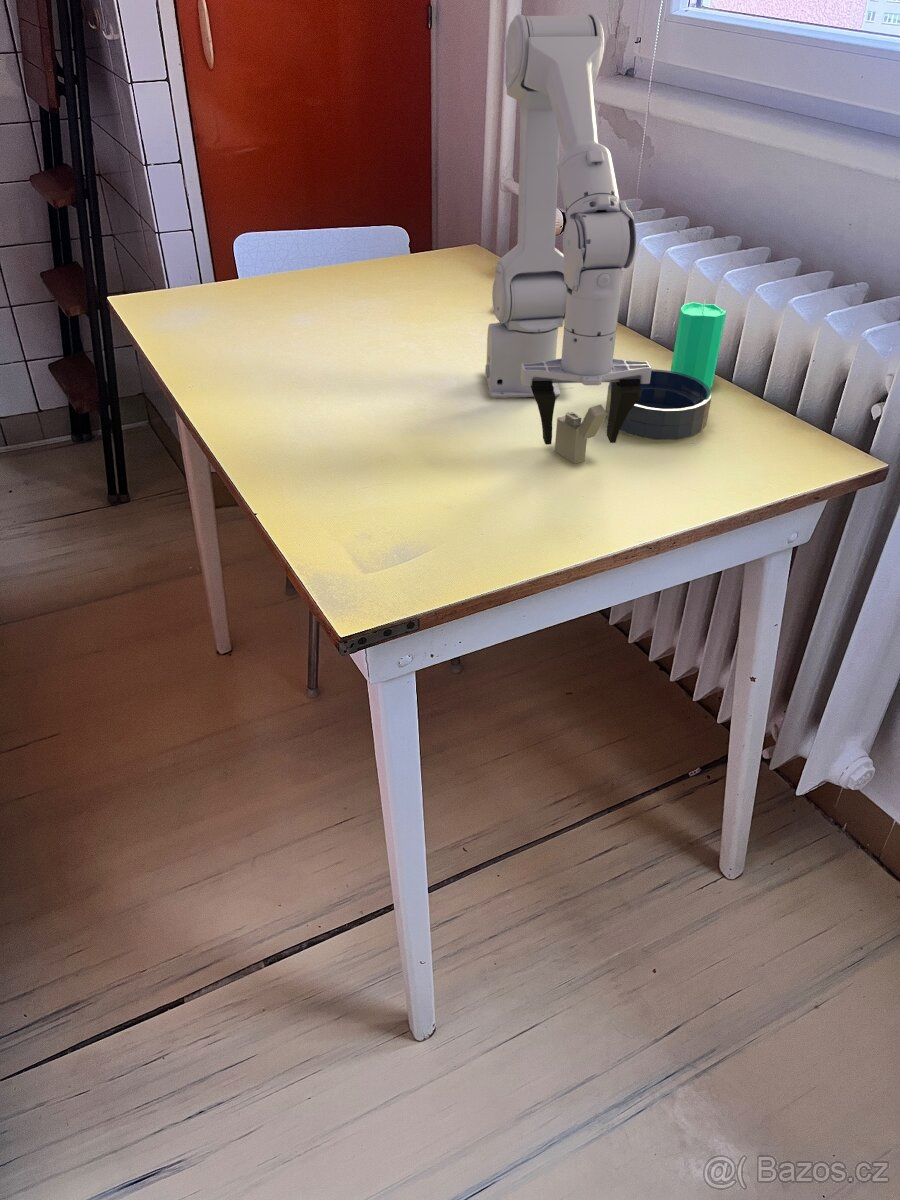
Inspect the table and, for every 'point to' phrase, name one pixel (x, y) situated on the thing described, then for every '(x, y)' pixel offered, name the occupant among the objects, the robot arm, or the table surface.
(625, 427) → the bowl
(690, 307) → the candle
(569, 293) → the robot arm
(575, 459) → the lighter
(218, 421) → the table surface
